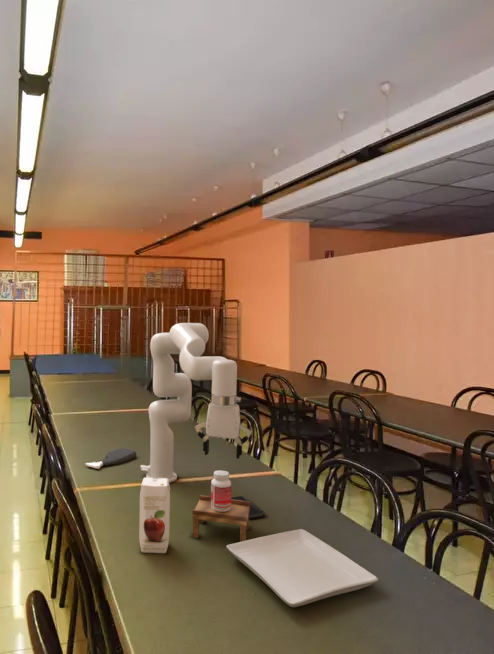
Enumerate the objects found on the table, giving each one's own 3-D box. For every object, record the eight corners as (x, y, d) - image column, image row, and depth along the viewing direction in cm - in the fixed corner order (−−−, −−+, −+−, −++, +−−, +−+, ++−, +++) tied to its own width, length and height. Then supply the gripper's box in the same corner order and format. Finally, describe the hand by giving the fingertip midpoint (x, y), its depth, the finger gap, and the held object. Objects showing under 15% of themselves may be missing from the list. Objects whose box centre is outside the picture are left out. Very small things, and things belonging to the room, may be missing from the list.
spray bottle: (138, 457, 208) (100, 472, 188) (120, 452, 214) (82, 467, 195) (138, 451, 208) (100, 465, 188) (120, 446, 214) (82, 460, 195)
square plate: (291, 620, 98) (291, 603, 98) (224, 557, 123) (224, 543, 123) (380, 592, 109) (380, 576, 109) (302, 539, 134) (302, 526, 134)
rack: (191, 537, 134) (192, 510, 134) (199, 520, 146) (200, 494, 146) (246, 546, 130) (246, 517, 130) (249, 527, 141) (250, 501, 141)
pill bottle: (235, 509, 138) (235, 473, 138) (220, 514, 134) (220, 477, 134) (221, 502, 143) (222, 467, 143) (206, 506, 139) (207, 471, 139)
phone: (245, 516, 146) (223, 498, 160) (245, 519, 146) (223, 501, 160) (266, 513, 149) (243, 495, 163) (266, 516, 149) (243, 498, 163)
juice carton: (140, 540, 132) (141, 476, 132) (169, 541, 132) (170, 476, 132) (138, 554, 124) (139, 485, 124) (169, 555, 124) (170, 486, 124)
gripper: (253, 400, 139) (251, 455, 139) (198, 395, 143) (197, 448, 144) (251, 404, 131) (249, 462, 132) (193, 400, 136) (192, 456, 137)
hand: (222, 455), depth 138 cm, fingers open, 9 cm apart
